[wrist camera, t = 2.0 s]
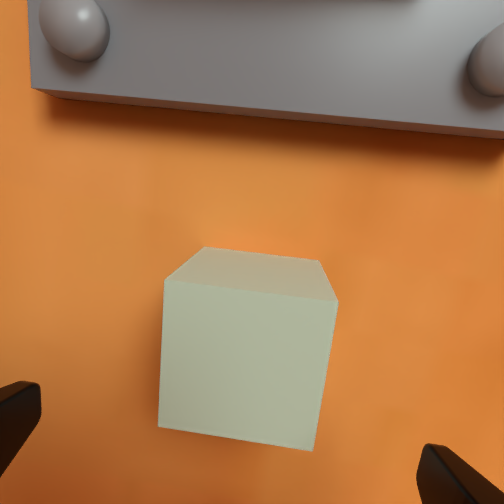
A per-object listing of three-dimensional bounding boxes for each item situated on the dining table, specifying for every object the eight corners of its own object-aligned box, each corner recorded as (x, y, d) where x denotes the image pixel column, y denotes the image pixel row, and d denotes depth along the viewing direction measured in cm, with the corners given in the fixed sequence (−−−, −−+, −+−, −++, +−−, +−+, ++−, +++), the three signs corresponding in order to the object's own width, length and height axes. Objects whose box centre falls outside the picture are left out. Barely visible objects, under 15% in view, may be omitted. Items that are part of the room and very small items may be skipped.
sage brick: (302, 363, 15) (312, 451, 10) (197, 348, 15) (158, 426, 10) (318, 259, 14) (338, 302, 9) (204, 246, 14) (164, 279, 9)
